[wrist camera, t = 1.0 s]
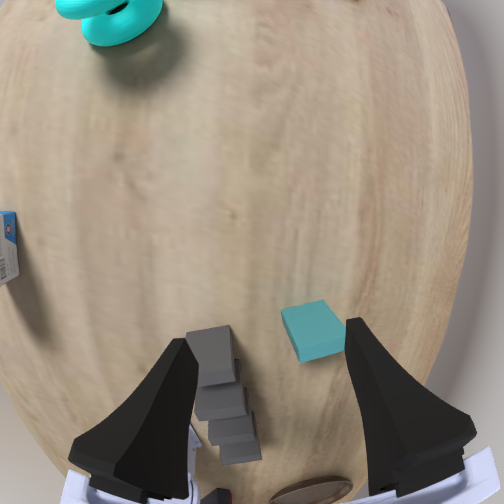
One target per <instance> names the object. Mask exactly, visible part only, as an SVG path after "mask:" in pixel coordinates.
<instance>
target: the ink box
mask: <svg viewBox="0 0 504 504" xmlns="http://www.w3.org/2000/svg"><path fill="white" fill-rule="evenodd" d="M19 274H20V273H19V265H18V256H17V245H16V228H15V212H13V211H0V286H2V285H4V284H5V283H7V282H9V281H10V280H12V279H14V278H15V277H17V276H19Z"/></svg>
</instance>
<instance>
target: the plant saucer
mask: <svg viewBox="0 0 504 504" xmlns="http://www.w3.org/2000/svg"><path fill="white" fill-rule="evenodd" d="M352 489H353V483H351V482H350V481H348V480H345V479H343V478H339V477H321V478H315V479H310V480H306V481H303V482H299V483H296V484H294V485H291V486H289V487H286V488H284V489H283V490H281V491H279V492H278V493H277V494H276V495H274V496H273V498H272V499H271V500H270V501H269V503H268V504H331V503H334V502H336V501H338V500H339V499H341V498H343V497H344V496H346V495H347V494H348V493H349V492H350V491H351V490H352Z"/></svg>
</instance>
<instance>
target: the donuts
mask: <svg viewBox="0 0 504 504" xmlns="http://www.w3.org/2000/svg"><path fill="white" fill-rule="evenodd" d="M125 3H128V5H127V6H126V7H125V8H124V9H123V10H121V11H120V12H118V13H116V14H112V15H109V13H110V12H111V11H112V10H113V9H115V8H116V7H118V6H120V5H122V4H125ZM162 4H163V0H55V7H56V10H57V12H58V13H59V14H60V15H61V16H63V17H65V18H67V19H74V20H79V19H83V20H82V25H81V28H82V33H83V36H84V38H85V39H86V40H87V41H88V42H90V43H91V44H94V45H97V46H114V45H118V44H121V43H124V42H127V41H129V40H131V39H133V38H135V37H137V36H138V35H140V34H141V33H143V32H144V31H145V30H146V29H148V28H149V27H150V26H151V25H152V24H153V22H154V21H155V20H156V19H157V17H158V15H159V14H160V12H161V9H162Z"/></svg>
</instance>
